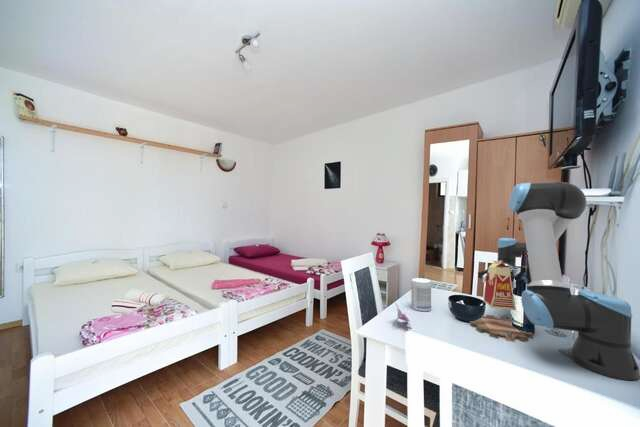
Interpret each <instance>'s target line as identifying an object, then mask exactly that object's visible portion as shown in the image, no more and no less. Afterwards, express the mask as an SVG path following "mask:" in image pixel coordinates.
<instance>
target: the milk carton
mask: <svg viewBox="0 0 640 427" xmlns="http://www.w3.org/2000/svg"><path fill="white" fill-rule="evenodd" d="M502 261H503V260H500V261H498V260H492V262H493V263H492V264H490V265H489V266H488V269H487V270H488V273H487V281H486V282H485V286H484V294H483V302H484V303H485V304H487V305H488V306H489V308H491V309H500V310H508V311H516V310H517V306H516V302H515V297H514V292H513V291H514V290H513V284H512V283H513V282H512V281H511V274H510V267H508V266H507V265H505V264H503V263H502Z"/></svg>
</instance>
